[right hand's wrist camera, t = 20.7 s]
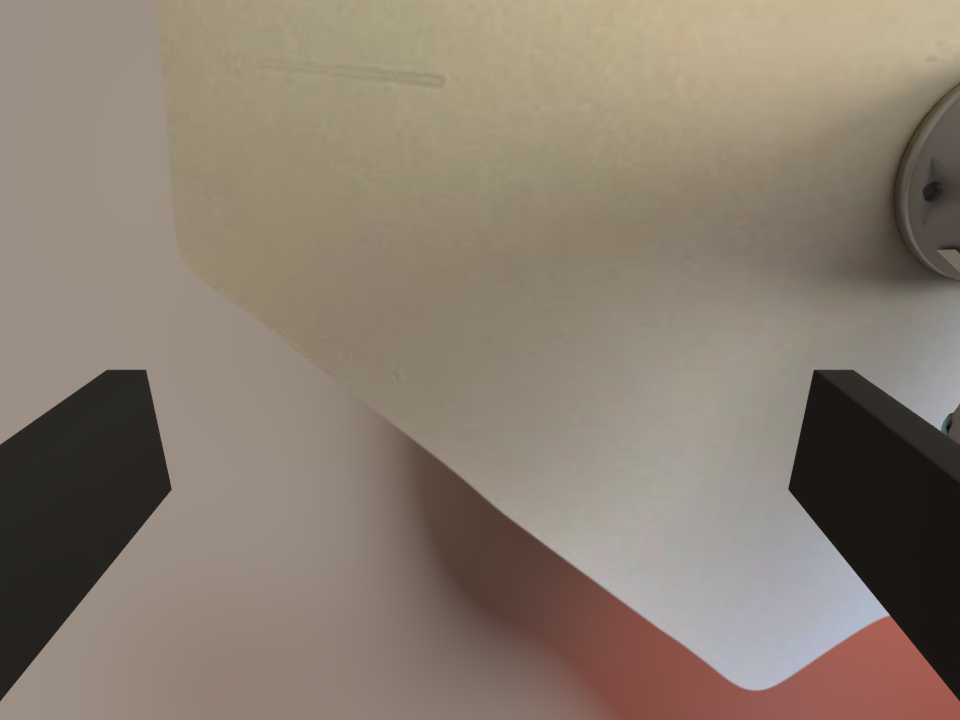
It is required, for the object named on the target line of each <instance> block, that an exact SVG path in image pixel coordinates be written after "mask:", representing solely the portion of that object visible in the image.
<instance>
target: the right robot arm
mask: <svg viewBox="0 0 960 720" xmlns="http://www.w3.org/2000/svg"><path fill="white" fill-rule="evenodd" d="M895 214H896V220H897V224H898V228H899V231H900V233H901V236H902V238H903V240H904V242H905V244H906V246H907V247H908V249H909V250H910V251H911V253H912V254H913V255H914V256H915V257H916V258H917V259H918V260H919V261H920V262H921V263H923V264H924V265H925V266H927V267H928V268H930V269H931V270H933V271H935V272H937V273H939V274H942V275H944V276H947V277H950V278H953V279H956V280H959V281H960V84H959V85H958V86H957V87H955V88H954V89H953V90H952V91H951V92H949V93H948V94H947V95H946V96H945V97H944V98H943V99H942V100H941V101H940V102H939V103H938V104H937V105H936V106H935V107H934V108H933V109H932V111H931V112H930V113H929V114H928V115H927V117H926V118H925V119H924V121H923V122H922V123H921V125H920V126H919V128H918V129H917V131H916V132H915V134H914V136H913V138H912V139H911V141H910V143H909V145H908V147H907V149H906V152H905V154H904V156H903V159H902V162H901V165H900V168H899V172H898V176H897V181H896V187H895ZM788 490H789V491H790V492H791V493H792V495H793V496H794V497H795V498H796V499H797V501H798V502H799V503H800V504H801V506H802V507H803V508H804V509H805V511H806V512H807V513H808V514H809V516H810V517H811V518H812V519H813V520H814V522H815V523H816V524H817V525H818V527H819V528H820V529H821V530H822V532H823V533H824V534H825V535H826V537H827V538H828V539H829V540H830V541H831V543H832V544H833V545H834V546H835V548H836V549H837V550H838V551H839V553H840V554H841V555H842V556H843V558H844V559H845V560H846V561H847V562H848V564H849V565H850V566H851V567H852V569H853V570H854V571H855V572H856V574H857V575H858V576H859V577H860V579H861V580H862V581H863V582H864V583H865V585H866V586H867V587H868V588H869V590H870V591H871V592H872V593H873V595H874V596H875V597H876V598H877V600H878V601H879V602H880V603H881V604H882V606H883V607H884V608H885V609H886V611H887V612H888V613H889V614H890V616H891V617H892V618H893V619H894V621H895V622H896V623H897V624H898V625H899V627H900V628H901V629H902V630H903V632H904V633H905V634H906V635H907V637H908V638H909V639H910V640H911V642H912V643H913V644H914V645H915V646H916V648H917V649H918V650H919V651H920V653H921V654H922V655H923V656H924V658H925V659H926V660H927V661H928V663H929V664H930V665H931V666H932V667H933V669H934V670H935V671H936V672H937V674H938V675H939V676H940V677H941V679H942V680H943V681H944V682H945V684H946V685H947V686H948V687H949V688H950V690H951V691H952V692H953V693H954V695H955V696H956V697H957V698H958V700H959V701H960V404H959V406H958V407H957V409H956V410H955V412H954V413H951V414H949V415H948V416H947V418H946V419H945V420H944V422H943V425H942V427H941V431H939V430H938V429H937V428H935V427H934V426H932V425H931V424H929V423H928V422H927V421H925V420H924V419H922V418H921V417H919V416H918V415H917V414H915V413H914V412H912V411H911V410H909V409H908V408H907V407H905V406H904V405H902V404H901V403H899V402H898V401H897V400H895V399H894V398H892V397H891V396H889V395H888V394H887V393H885V392H884V391H882V390H881V389H879V388H878V387H877V386H875V385H874V384H872V383H871V382H869V381H868V380H867V379H865V378H864V377H862V376H861V375H859V374H858V373H857V372H855V371H854V370H814V372H813V377H812V381H811V386H810V391H809V395H808V400H807V405H806V409H805V414H804V419H803V423H802V428H801V433H800V437H799V442H798V447H797V451H796V456H795V461H794V465H793V470H792V475H791V479H790V484H789V489H788ZM170 491H171V484H170V479H169V475H168V470H167V465H166V461H165V456H164V451H163V447H162V442H161V438H160V433H159V428H158V423H157V419H156V414H155V410H154V405H153V400H152V395H151V391H150V386H149V381H148V377H147V372H146V370H106V371H105V372H103V373H102V374H101V375H99V376H98V377H96V378H95V379H93V380H92V381H91V382H89V383H88V384H86V385H85V386H83V387H82V388H81V389H79V390H78V391H76V392H75V393H73V394H72V395H71V396H69V397H68V398H66V399H65V400H63V401H62V402H61V403H59V404H58V405H56V406H55V407H53V408H52V409H51V410H49V411H48V412H46V413H45V414H43V415H42V416H41V417H39V418H38V419H36V420H35V421H33V422H32V423H31V424H29V425H28V426H26V427H25V428H23V429H22V430H21V431H19V432H18V433H16V434H15V435H14V436H12V437H11V438H9V439H8V440H6V441H5V442H4V443H2V444H1V445H0V701H1V700H2V698H3V697H4V696H5V695H6V693H7V692H8V691H9V690H10V688H11V687H12V686H13V685H14V684H15V682H16V681H17V680H18V679H19V677H20V676H21V675H22V674H23V672H24V671H25V670H26V669H27V667H28V666H29V665H30V664H31V662H32V661H33V660H34V659H35V658H36V656H37V655H38V654H39V653H40V651H41V650H42V649H43V648H44V646H45V645H46V644H47V643H48V642H49V640H50V639H51V638H52V637H53V635H54V634H55V633H56V632H57V630H58V629H59V628H60V627H61V625H62V624H63V623H64V622H65V621H66V619H67V618H68V617H69V616H70V614H71V613H72V612H73V611H74V609H75V608H76V607H77V606H78V604H79V603H80V602H81V601H82V599H83V598H84V597H85V596H86V595H87V593H88V592H89V591H90V590H91V588H92V587H93V586H94V585H95V583H96V582H97V581H98V580H99V579H100V577H101V576H102V575H103V574H104V572H105V571H106V570H107V569H108V567H109V566H110V565H111V564H112V562H113V561H114V560H115V559H116V558H117V556H118V555H119V554H120V553H121V551H122V550H123V549H124V548H125V546H126V545H127V544H128V543H129V541H130V540H131V539H132V538H133V537H134V535H135V534H136V533H137V532H138V530H139V529H140V528H141V527H142V525H143V524H144V523H145V522H146V520H147V519H148V518H149V517H150V515H151V514H152V513H153V512H154V511H155V509H156V508H157V507H158V506H159V504H160V503H161V502H162V501H163V499H164V498H165V497H166V496H167V495H168V493H169V492H170Z"/></svg>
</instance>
